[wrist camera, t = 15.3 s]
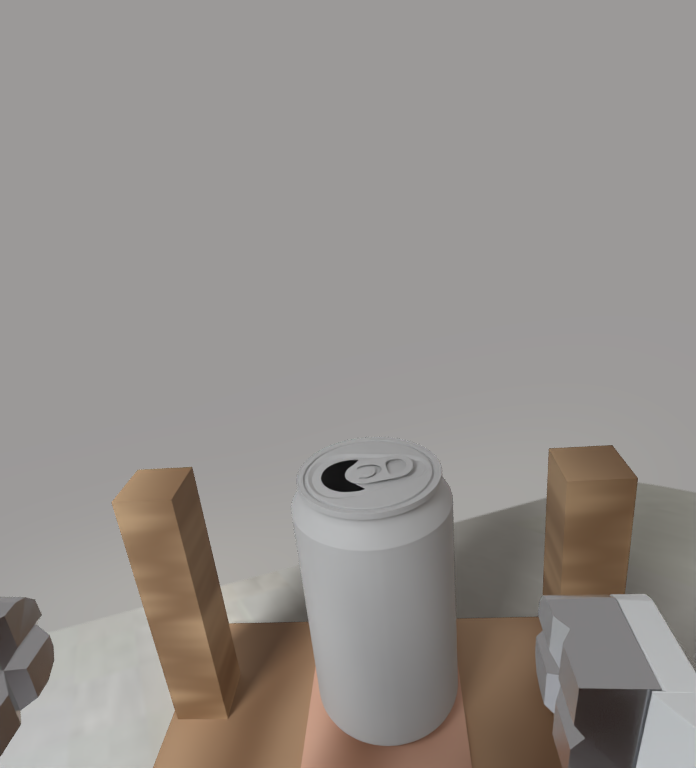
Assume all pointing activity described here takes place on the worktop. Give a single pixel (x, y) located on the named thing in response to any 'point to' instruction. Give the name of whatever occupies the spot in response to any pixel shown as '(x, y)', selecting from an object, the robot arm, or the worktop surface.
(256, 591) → the worktop surface
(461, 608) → the worktop surface
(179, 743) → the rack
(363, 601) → the beverage can
